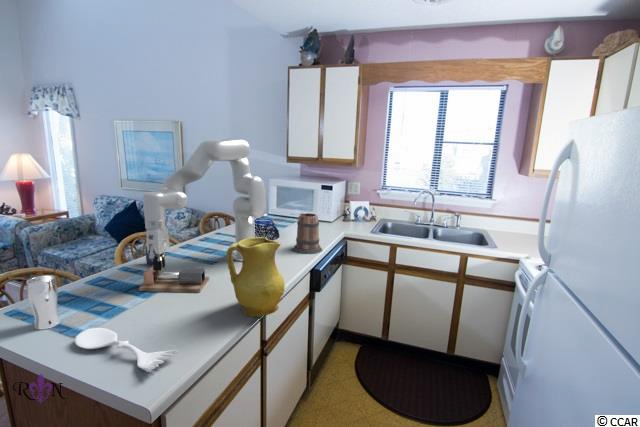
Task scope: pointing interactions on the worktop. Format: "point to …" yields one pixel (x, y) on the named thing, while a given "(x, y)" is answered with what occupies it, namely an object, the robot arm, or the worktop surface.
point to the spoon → (107, 337)
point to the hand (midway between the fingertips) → (159, 268)
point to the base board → (172, 286)
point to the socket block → (149, 276)
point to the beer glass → (43, 301)
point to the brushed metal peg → (165, 275)
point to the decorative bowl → (273, 230)
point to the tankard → (307, 234)
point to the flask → (148, 260)
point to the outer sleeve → (192, 276)
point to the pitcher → (256, 276)
